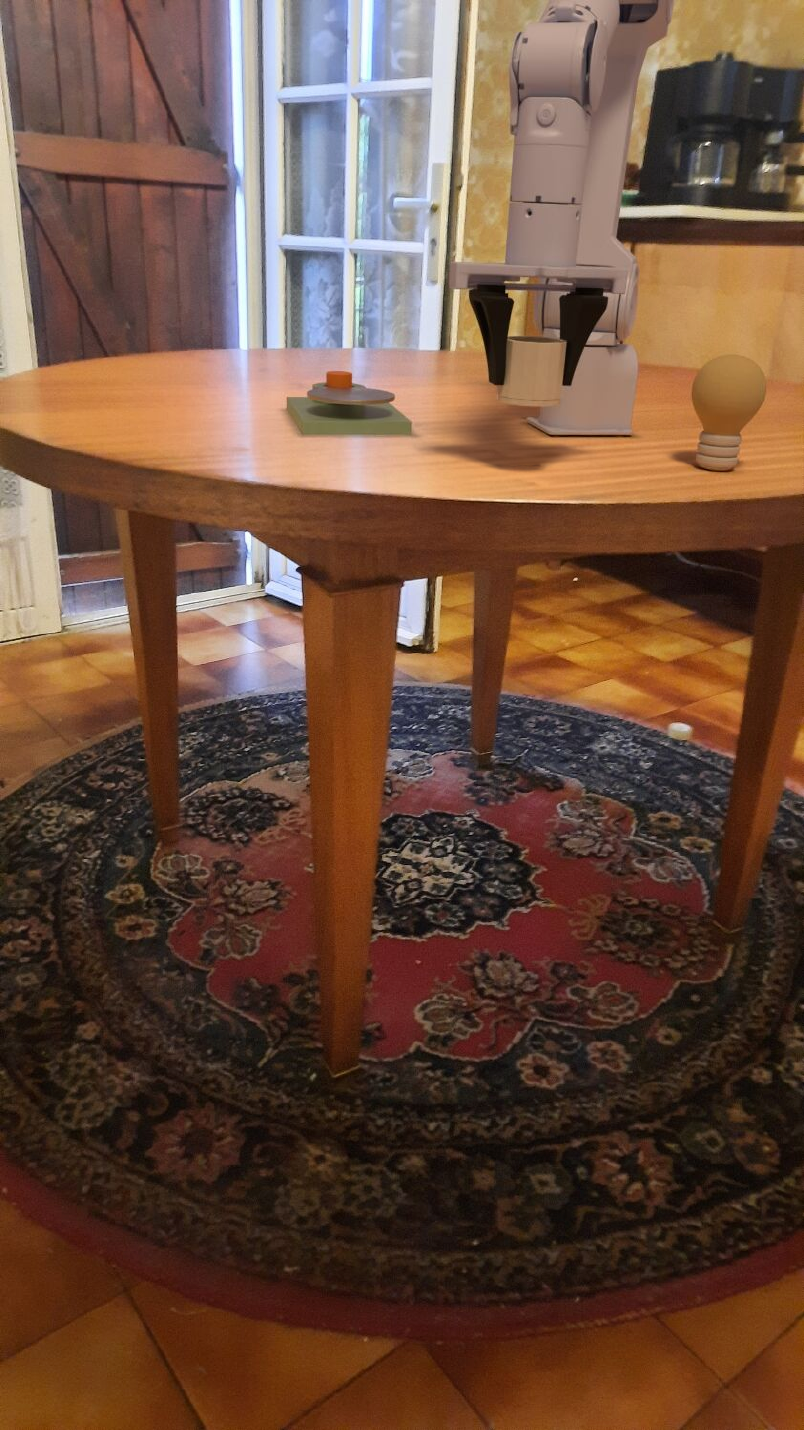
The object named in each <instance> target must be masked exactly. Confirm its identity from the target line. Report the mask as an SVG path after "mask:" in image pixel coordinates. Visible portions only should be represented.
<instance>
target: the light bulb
mask: <svg viewBox="0 0 804 1430" xmlns="http://www.w3.org/2000/svg"><path fill="white" fill-rule="evenodd" d="M766 395H767V380H766V376H765V373H764V371H763V369H762V368H761V366H760V365H759V364H758V363H757V362H755V360H753V359H751V358H749V357H747V356H744V355H740V354H724V355H719V356H717V357H715V358H712V359H710V360H708V361H707V362H706V363H705V364H703V366H702V367H701V368H700V369H699V371H698V372H697V374H696V376H695V377H694V380H693V381H692V387H691V402H692V406H693V409H694V411H695V414H696V416H697V417H698V419H699V421H700V423H701V425H702V429H703V430H702V431H700V433H699V436H698V439H699V442H698V444H697V453H696V454H695V462H696V463H697V464H698V466H699V467H701V468H703V469H706V470H710V471H719V472H720V471H723V472H724V471H730V470H732V469H733V468H735V467H736V466H737V465H738V461H739V457H738V455H739V454H740V451H741V447H740V445H741V443H742V441H743V439H742V438H743V437H742V435H741V434H740V433H741V431H742V430H743V429H744V428H745V427H746V426H747V424H748V423H750V422H751V420H752V419H753V418H754V417H755V416H756V415H757V414H758V412H759V411H760V409H761V407H762V406H763V404H764V401H765V398H766Z"/></svg>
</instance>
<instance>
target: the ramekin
mask: <svg viewBox="0 0 804 1430" xmlns="http://www.w3.org/2000/svg"><path fill="white" fill-rule="evenodd" d="M566 346H567V341H566V340H563V339H558V338H550V337H543V336H539V335H538V336H537V335H508V338H507V347H506V371H505V379H504V385H496V386H497V387H496V401H497V402H499V403H502V404H506V405H510V406H511V405H512V406H520V407H530V408H540V407H548V406H556V405H559V404H560V402H561V394H562V384H563V375H564V365H565V355H566Z"/></svg>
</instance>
